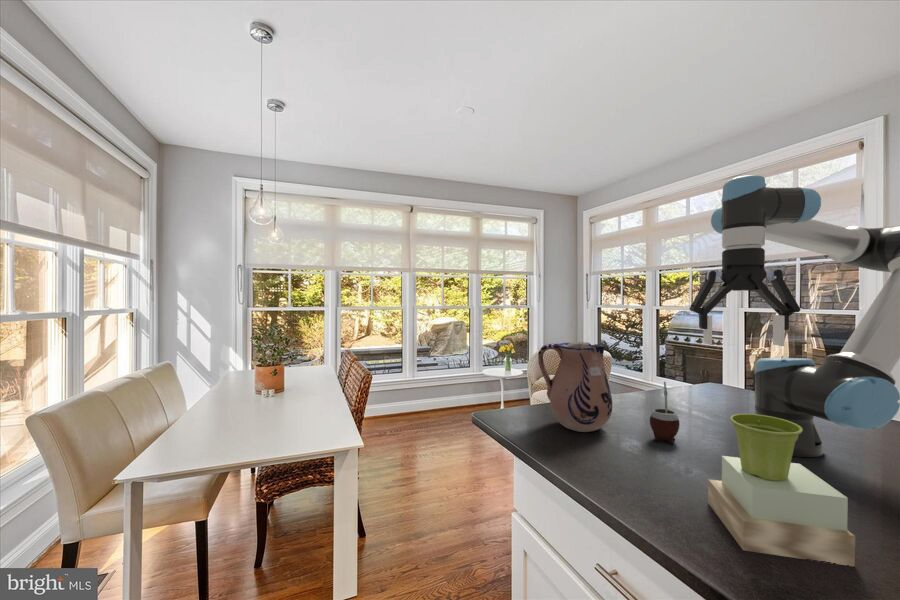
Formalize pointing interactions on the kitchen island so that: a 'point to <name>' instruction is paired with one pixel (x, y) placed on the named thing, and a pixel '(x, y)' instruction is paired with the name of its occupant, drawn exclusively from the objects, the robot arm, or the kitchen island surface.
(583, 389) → the ceramic pitcher
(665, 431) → the mate gourd
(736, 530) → the lower block
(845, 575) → the kitchen island surface
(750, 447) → the plant pot
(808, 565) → the kitchen island surface
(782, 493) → the upper block
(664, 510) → the kitchen island surface
